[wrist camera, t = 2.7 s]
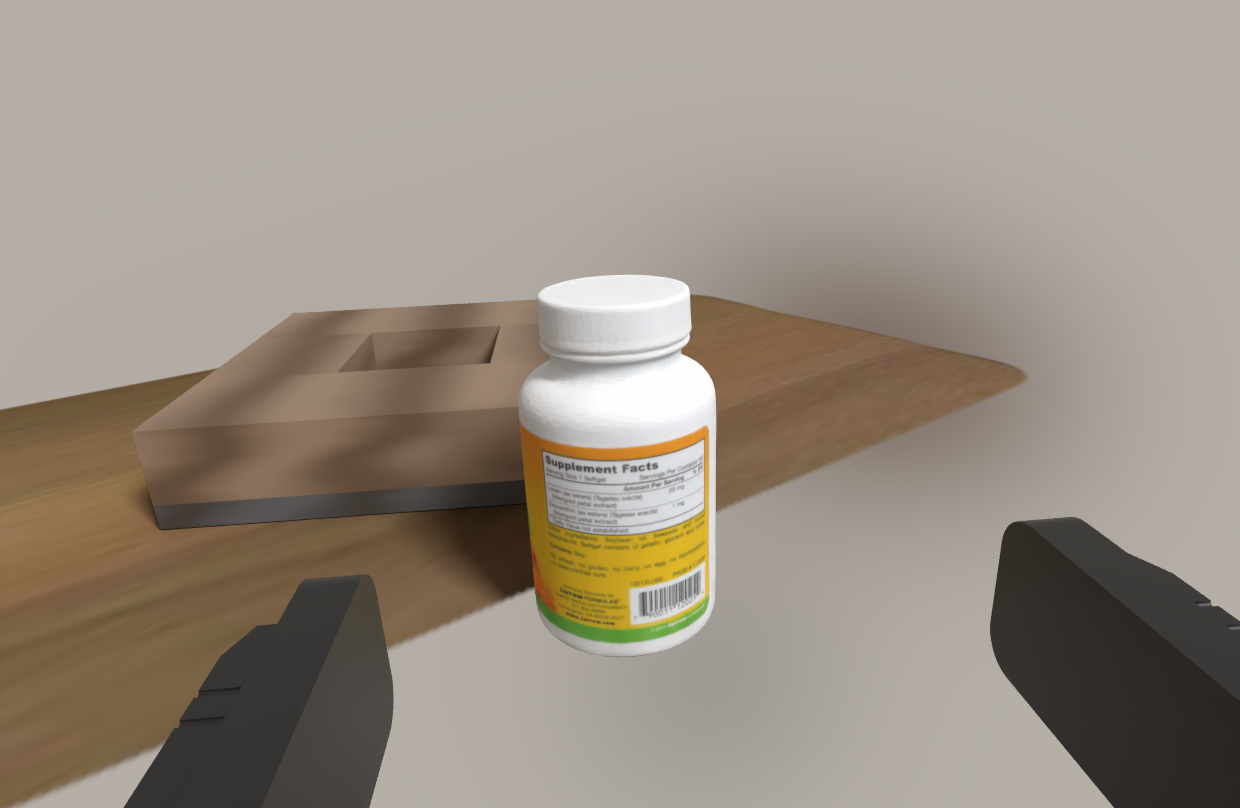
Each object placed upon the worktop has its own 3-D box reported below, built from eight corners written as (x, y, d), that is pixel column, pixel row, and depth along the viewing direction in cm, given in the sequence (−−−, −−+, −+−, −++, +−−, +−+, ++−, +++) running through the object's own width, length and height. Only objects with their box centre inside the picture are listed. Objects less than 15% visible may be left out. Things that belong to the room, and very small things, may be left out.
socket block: (159, 529, 29) (131, 431, 27) (306, 378, 45) (293, 313, 44) (635, 495, 30) (632, 399, 28) (606, 360, 46) (603, 295, 45)
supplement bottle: (577, 546, 26) (559, 266, 23) (731, 570, 25) (736, 271, 21) (506, 643, 22) (468, 308, 18) (690, 680, 20) (687, 318, 16)
